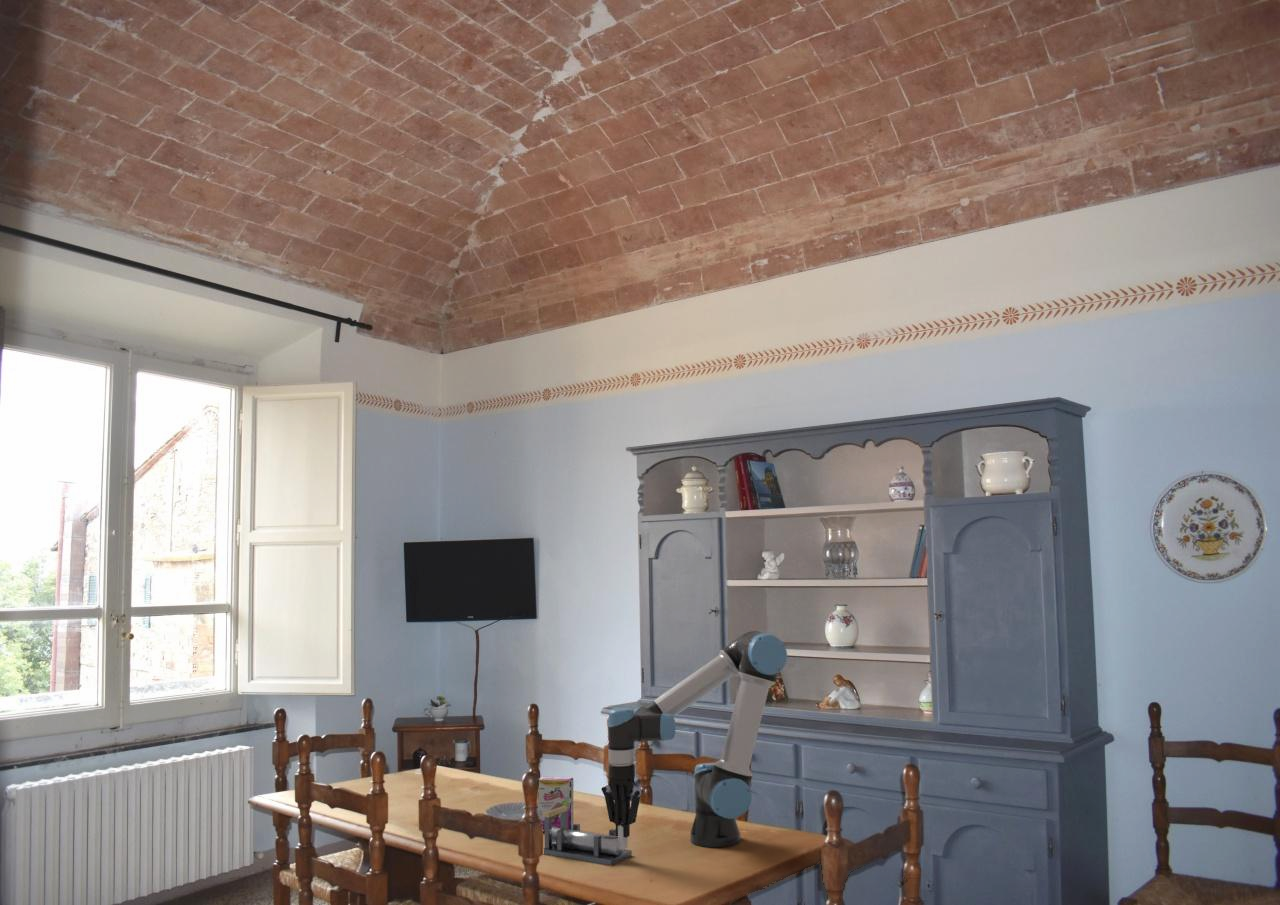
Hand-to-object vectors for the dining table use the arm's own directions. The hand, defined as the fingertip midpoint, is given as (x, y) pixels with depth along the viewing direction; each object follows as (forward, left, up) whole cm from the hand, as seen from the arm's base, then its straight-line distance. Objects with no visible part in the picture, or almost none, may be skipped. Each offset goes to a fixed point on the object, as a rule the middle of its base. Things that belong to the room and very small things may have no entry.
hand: (622, 848), depth 290 cm
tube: (+13, +1, -2) cm, 13 cm away
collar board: (+13, 0, -3) cm, 13 cm away
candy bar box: (+37, -18, -4) cm, 41 cm away
